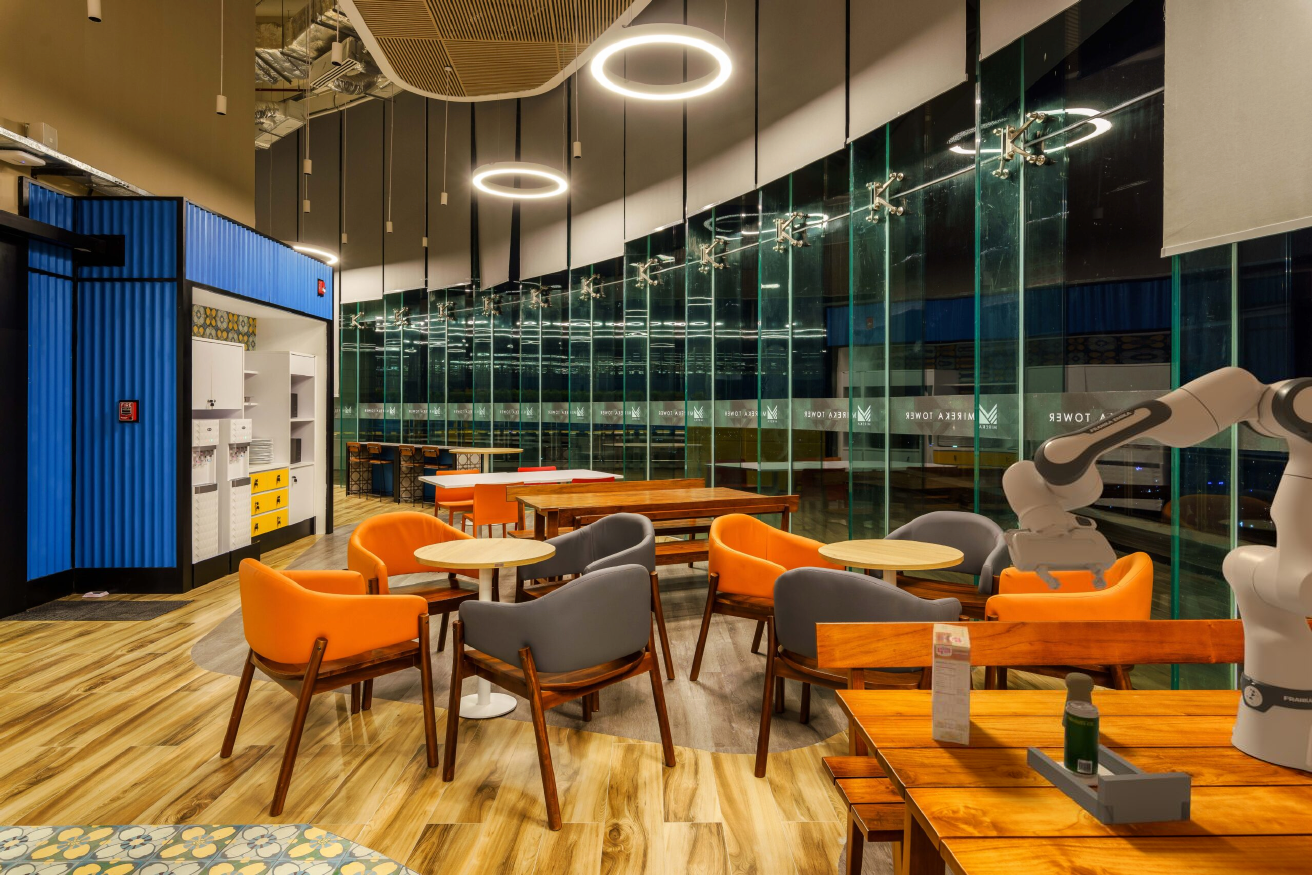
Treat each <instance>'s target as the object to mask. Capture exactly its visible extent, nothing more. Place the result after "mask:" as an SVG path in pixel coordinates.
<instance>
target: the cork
mask: <svg viewBox="0 0 1312 875" xmlns="http://www.w3.org/2000/svg"><path fill="white" fill-rule="evenodd" d="M1064 679H1065V680H1064V682H1065V686H1066V688H1067V692H1066V699H1065V703H1064V711H1063V715H1062V721H1061V725H1062V727H1064V728H1065V708H1066V706H1067V702H1069V701H1081V702H1086V703H1090V704H1092V705H1093V699H1092V692H1093V691H1094V689H1095V682H1094V680H1093V678H1092V677H1091V676H1089V675H1088V674H1085V673H1080V672H1070V673H1067V675H1066V676H1065V678H1064Z"/></svg>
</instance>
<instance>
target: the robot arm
mask: <svg viewBox="0 0 1312 875" xmlns="http://www.w3.org/2000/svg"><path fill="white" fill-rule="evenodd" d="M1237 423H1240V424H1241V425H1243V426H1244V427H1246V428H1247V429H1248V430H1250V431H1251V432H1253V433H1254V434H1256V435H1258V436H1261V437H1264V438H1269V439H1285V440H1286V442H1287V444H1288V448H1289V456H1288V462H1287V464H1286V466H1285V469H1284V472H1283V474H1282V476H1281V479H1280V482H1279V485H1278V487H1277V490H1276V493H1275V496H1274V498H1273V501H1272V503H1271V507H1270V510H1269V512H1270V513H1269V514H1270V517H1271V520H1272V521H1273V523H1274V525H1275V528H1276V546H1270V545H1263V544H1261V545H1259V544H1258V545H1257V544H1254V545H1251V544H1249V545H1242V546H1237V547H1235V548H1233V549H1231V551H1229V552H1228V553H1227V554H1226V556H1225V557H1224V559H1223V563H1222V573H1223V576H1224V578H1225V581H1226V582H1227V583H1228V585H1229V586H1230V587H1231V589H1232V591H1233V594H1234V596H1235V601H1236V602H1237V607H1238V610H1239V614H1240V617H1241V622H1242V626H1243V627H1242V628H1243V633H1244V663H1243V664H1244V667H1243V668H1244V670H1243V671H1242V672H1241V675H1240V691H1241V696H1240V697H1239V703H1238V708H1237V715H1236V721H1235V725H1234V726H1232V730H1231V733H1232V735H1231V738H1230V743H1231V744H1232V745H1233V746H1234V747H1235V748H1237V749H1238V750H1240V751H1242V752H1243V753H1246V754H1248V755H1250V756H1253V757H1254V758H1257V759H1260V760H1263V761H1266V762H1269V763H1272V764H1275V765H1280V766H1284V767H1287V768H1288V767H1289V768H1293V769H1297V770H1298V769H1299V770H1304V771H1306V772H1310V773H1312V630H1311V627H1310V625H1309V623H1308V620H1307V618H1309V619H1310V618H1311V619H1312V377H1299V378H1293V379H1285V380H1281V381H1277V382H1274V383H1269V384H1264V383H1262V382H1260V381H1259V380H1258V379H1257V378H1256V376H1254V375H1253V374H1252V372H1250V371H1248V370H1246V369H1244V368H1241V367H1238V366H1237V367H1236V366H1226V367H1222V368H1220V369H1217V370H1214V371H1212V372H1208V373H1207V374H1204V375H1202V376H1200V377H1198V378H1195V379H1193V380H1192V381H1190V382H1187V383H1186V384H1184V385H1182V386H1180V387H1179V388H1176V389H1175V390H1173V391H1171V392H1169V393H1168V394H1165V395H1164V396H1161V397H1158V398H1155V399H1148V400H1147V399H1146V400H1142V401H1139V402H1138V403H1134V404H1132V405H1130V406H1128V407H1125V408H1123V409H1121V410H1118V411H1116V412H1115V413H1113V414H1110V415H1108V416H1106V417H1103V418H1102V419H1100V420H1097V421H1095V422H1093V423H1091V424H1089V425H1087V426H1084V427H1083V428H1080V429H1077V430H1074V431H1071V432H1067V433H1062V434H1058V435H1055V436H1053V437H1050V438H1048V439H1046V440H1045V441H1044V442H1042V443H1041V444H1040V446H1039V447H1038V448H1037V449H1036V451H1035V453H1034V457H1033V461H1031V460H1021V461H1016V462H1015V463H1013V464H1012V465H1011V466H1009V467H1008V469H1006V470H1005V472H1004V474H1003V476H1002V488H1003V490H1004V494H1005V496H1006V499H1007V501H1008V504H1009V506H1010V507H1011V509H1012V511H1013V512H1014V513H1015V514H1016V515H1017V517H1018V521H1019V525H1020V527H1021V528H1017V529H1015V528H1009V529H1007V530H1006V531H1005V532H1004V533H1003V539H1004V542H1005V544H1006V546H1007V547H1008V548H1007V550H1008V553H1009V557H1010V559H1011V561H1012V562H1011V563H1012V564H1013V567H1014V568H1015V569H1016V570H1018V571H1019V572H1021V573H1022V572H1023V573H1025V572H1026V573H1028V572H1030V573H1031V572H1032V573H1033V572H1035V574H1036V576H1037V577H1038V578H1040V579H1041V580H1042V581H1043V582H1045V583H1046V585H1047V587H1048V588H1049V590H1059V589H1060V588H1061V587H1062V584H1061V582H1060V579H1059V578H1058V577H1054V576H1053V575H1052V574H1051V573H1050V572H1090V573H1091V574H1092V575H1094V579H1093V580H1092V581H1091V584H1092V585H1093V587H1094V588H1095V589H1097V590H1099V589H1100V590H1101V589H1103V590H1104V589H1105V588H1106V587H1107V584H1108V583H1107V582H1106V579H1105V576H1104V575H1105V571H1106V572H1107V571H1109V570H1111V568H1112V567H1113V566H1114V565H1115V564H1116V562H1117V554H1116V552H1115V551H1114V549H1113V547H1112V546H1111V544H1110V543H1109V541H1108V540H1107V538H1106V537H1105V535H1104V534H1102V532H1100V531H1099V530H1096V528H1097V523H1096V521H1095V520H1094V519H1092V518H1089V517H1084V516H1081V515H1078V514H1074V513H1071V512H1070V511H1075V510H1078V509H1083V508H1085V507H1089V506H1091V505H1093V504H1094V503H1095V502H1097V501H1098V500H1099V499H1100V497H1101V495H1102V494H1103V493H1104V492H1103V491H1104V482H1103V480H1102V477H1101V474H1100V472H1099V470H1098V468H1097V467H1096V465H1095V462H1096V460H1097V459H1098V458H1099V457H1100V456H1102V455H1104V454H1106V453H1108V452H1110V451H1112V450H1115V449H1116V448H1119V447H1121V446H1124V445H1125V444H1127V443H1130V442H1131V441H1134V440H1136V439H1139V438H1140V439H1141V438H1151V439H1153V440H1155V441H1157V442H1159V443H1160V444H1163V445H1165V446H1169V447H1172V448H1178V449H1179V448H1181V449H1183V448H1188V447H1192V446H1194V445H1199V444H1200V443H1203V442H1204V441H1207V440H1208V439H1210V438H1211V437H1213V436H1215V435H1217V434H1219V433H1220V432H1222V431H1224V430H1226V429H1227V428H1229V427H1230V426H1233V425H1236V424H1237Z"/></svg>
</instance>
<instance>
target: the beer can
mask: <svg viewBox="0 0 1312 875" xmlns="http://www.w3.org/2000/svg"><path fill="white" fill-rule="evenodd" d="M1064 708H1065V707H1064ZM1100 715H1101V714H1100V713H1099V708H1098V706H1096V705H1094V704H1093V703H1092V704H1090V703H1086V702H1081V701H1069V702H1067V706H1066V708H1065V727H1064V740H1063V741H1064V742H1063V762H1064V767H1065V769H1066V770H1067V771H1068V772H1070V773H1071V774H1072V775H1074V776H1077V777H1081V778H1094V777H1095V776H1096V775H1097V773H1098V753H1099V744H1100V743H1099V742H1100Z"/></svg>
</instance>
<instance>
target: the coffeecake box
mask: <svg viewBox="0 0 1312 875" xmlns="http://www.w3.org/2000/svg"><path fill="white" fill-rule="evenodd" d="M971 647H972V646H971V641H970V634H969V630H968V626H961V625H952V624H946V623H933V631H932V656H931V657H932V664H931V666H932V667H931V670H932V671H931V672H932V673H931V733H932V734H931V736H932V737H931V738H932V740H934V741H940V742H947V743H955V744H960V745H966V746H969V745H970V718H971V717H970V714H971V713H970V711H971V710H970V708H971V704H970V703H971V655H972V654H971V649H972V648H971Z"/></svg>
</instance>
